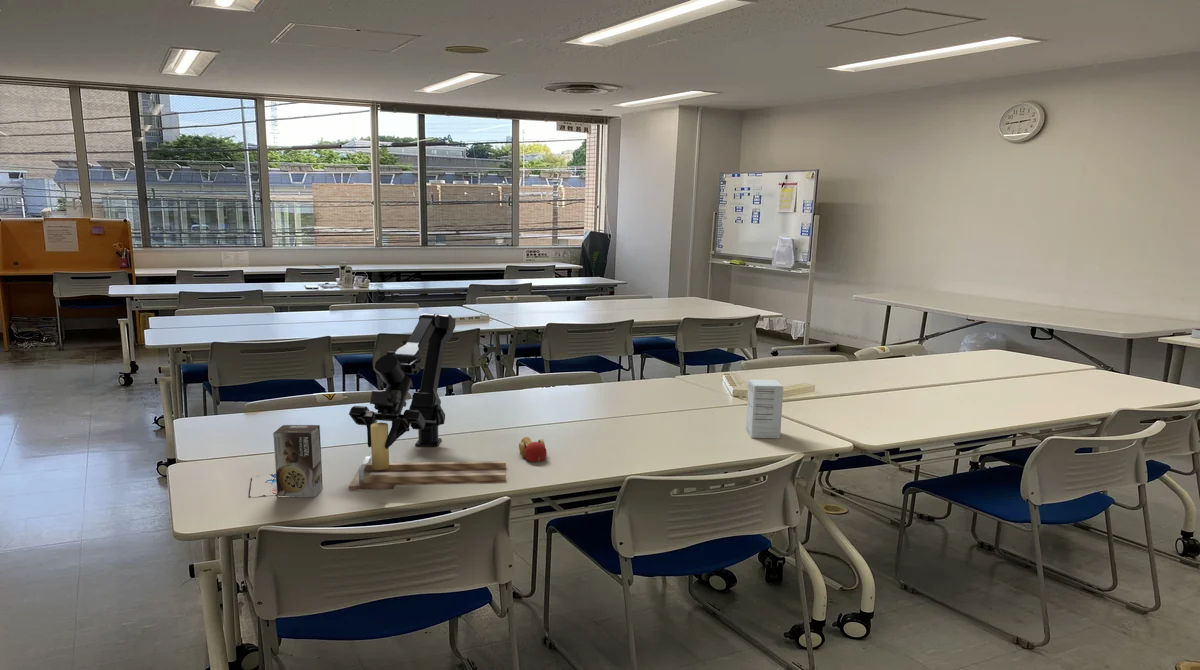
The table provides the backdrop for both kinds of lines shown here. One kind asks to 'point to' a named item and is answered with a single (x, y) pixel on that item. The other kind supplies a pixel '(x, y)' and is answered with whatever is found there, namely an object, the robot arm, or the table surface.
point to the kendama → (532, 450)
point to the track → (432, 474)
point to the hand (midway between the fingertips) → (377, 447)
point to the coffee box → (298, 460)
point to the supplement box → (764, 408)
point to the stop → (364, 469)
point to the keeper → (379, 446)
